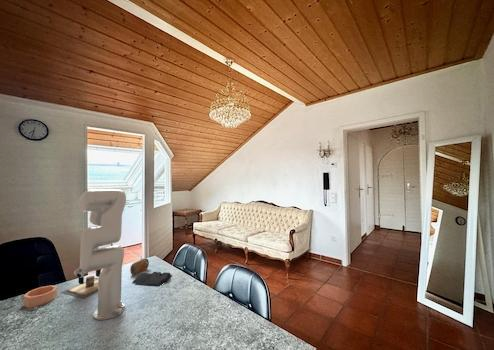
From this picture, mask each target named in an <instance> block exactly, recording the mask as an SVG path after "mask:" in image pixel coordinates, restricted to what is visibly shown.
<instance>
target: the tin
mask: <svg viewBox="0 0 494 350" xmlns="http://www.w3.org/2000/svg"><path fill="white" fill-rule="evenodd" d="M149 265H150V262H149V259H148V258H142V259H141V258H140V259H139V260H137V261H135V262H133V263H132V264H131V266H130V269H129V271H130V274H131V275H133V276H139V275H140V274H142V273H144V272H145V271H147V269H148V268H149ZM144 270H145V271H144ZM141 272H142V273H141Z"/></svg>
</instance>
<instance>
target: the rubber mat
mask: <svg viewBox="0 0 494 350" xmlns="http://www.w3.org/2000/svg"><path fill="white" fill-rule="evenodd" d="M94 279H99V277H94ZM85 282H86V281H84V283H85ZM78 285H80V284H79V283H78V284H77V285H74V286H72V287H70V288H67V289H64V290H63V291H60V292H59V293H60V294H63V295H66V296H67V295H68V296H70V297H75V298H77V299H82V300H83V299H84V300H85V299H86V298H89V297H91V296H92V295H94V294H98V290H96V291H94V292H92V293H90V294H88V295H86V296H84V295H80V294H76V293H72V292H69V291H68V289H71V288H73V287H76V286H78Z"/></svg>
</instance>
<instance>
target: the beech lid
mask: <svg viewBox="0 0 494 350" xmlns="http://www.w3.org/2000/svg"><path fill="white" fill-rule="evenodd" d="M94 278H95V275H90V276H87V277H86V278H85V281H84V282H85V283H83V284H80V285H79V284H77V285H78V286H77V285H75V286H76V287H74V286H72V287H73V288H72V287H70V288H71V289H70V288H67V289H68V291H69V292H72V293H76V294H80V295H84V296H86V295H88V294H90V293H92V292H94V291H96V290H98V279H94Z"/></svg>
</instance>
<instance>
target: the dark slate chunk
mask: <svg viewBox="0 0 494 350" xmlns="http://www.w3.org/2000/svg"><path fill="white" fill-rule="evenodd" d="M172 277H173V276H172V274H171V273H170V272H163V273H162V272H161V271H159V272H158V271H153V272H152V273H147V272H142V273H140V274H138V275H136V278H135V279H133V281H132V282H131V284H133V286H143V287H144V286H145V287H146V286H147V287H161V286H163V285H162V284H163V283H165V282H166V283H168V282H169V281H170V280H171V278H172ZM169 279H170V280H169ZM168 280H169V281H168ZM167 281H168V282H167ZM166 283H165V284H166ZM160 285H161V286H160Z"/></svg>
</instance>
